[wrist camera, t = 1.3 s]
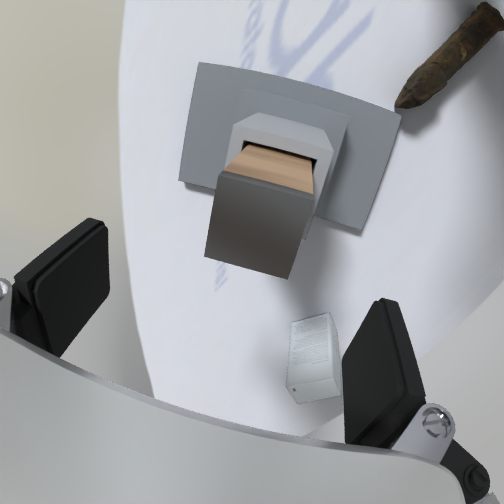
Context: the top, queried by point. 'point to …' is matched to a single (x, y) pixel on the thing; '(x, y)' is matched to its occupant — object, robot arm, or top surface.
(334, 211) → the stand base
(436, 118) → the top surface
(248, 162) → the post
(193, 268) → the top surface
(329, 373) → the skincare box
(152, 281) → the top surface
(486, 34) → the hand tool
